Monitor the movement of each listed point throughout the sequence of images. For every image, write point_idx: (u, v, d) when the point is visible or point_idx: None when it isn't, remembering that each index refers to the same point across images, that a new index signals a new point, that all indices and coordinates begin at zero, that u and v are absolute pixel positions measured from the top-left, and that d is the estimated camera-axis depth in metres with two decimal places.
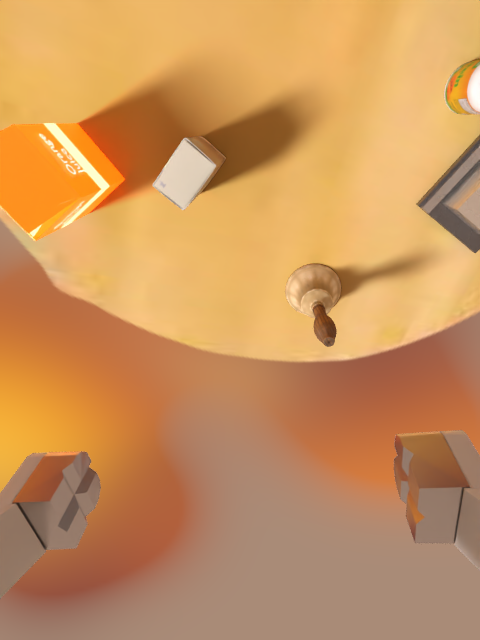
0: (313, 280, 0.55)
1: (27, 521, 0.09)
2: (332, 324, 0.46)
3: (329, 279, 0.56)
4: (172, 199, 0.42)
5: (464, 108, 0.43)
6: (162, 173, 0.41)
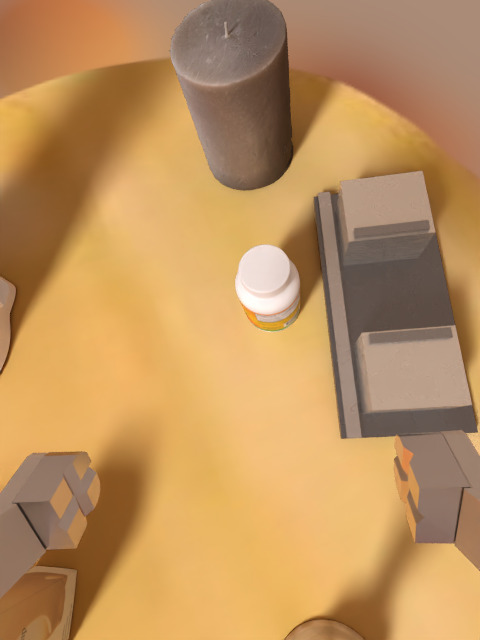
0: None
1: (27, 521, 0.09)
2: None
3: None
4: None
5: (270, 321, 0.34)
6: None
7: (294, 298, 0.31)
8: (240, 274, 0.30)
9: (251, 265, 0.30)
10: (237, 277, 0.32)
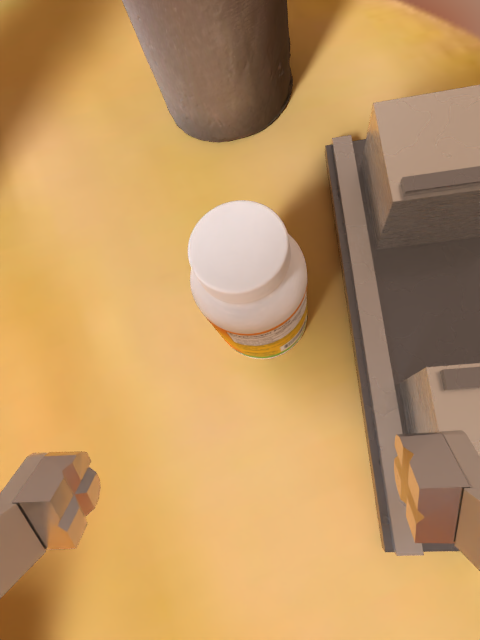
0: None
1: (26, 521, 0.09)
2: None
3: None
4: None
5: (256, 344, 0.19)
6: None
7: (297, 303, 0.17)
8: (191, 258, 0.15)
9: (212, 240, 0.15)
10: None
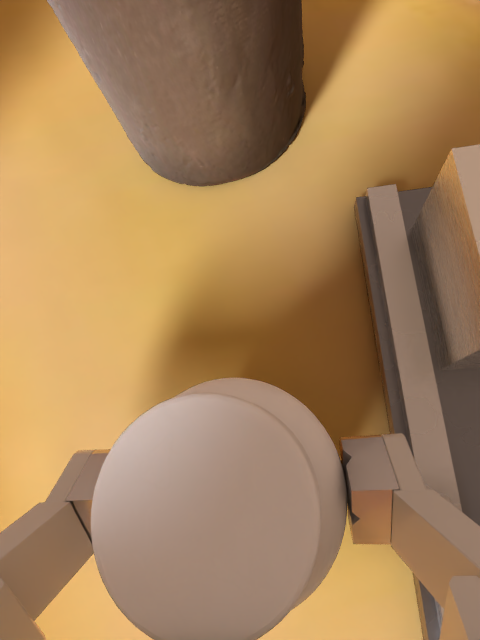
0: None
1: (78, 520, 0.09)
2: None
3: None
4: None
5: None
6: None
7: None
8: (95, 536, 0.07)
9: (145, 494, 0.07)
10: None
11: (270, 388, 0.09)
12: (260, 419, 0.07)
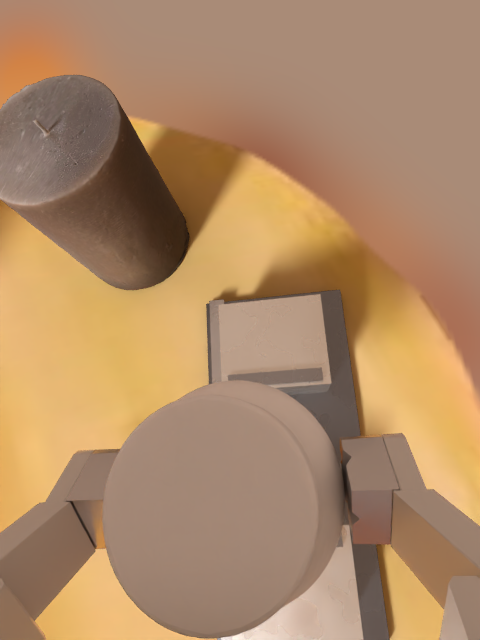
0: None
1: (79, 520, 0.09)
2: None
3: None
4: None
5: None
6: None
7: None
8: (107, 530, 0.07)
9: (153, 490, 0.07)
10: None
11: (271, 390, 0.10)
12: (261, 420, 0.07)
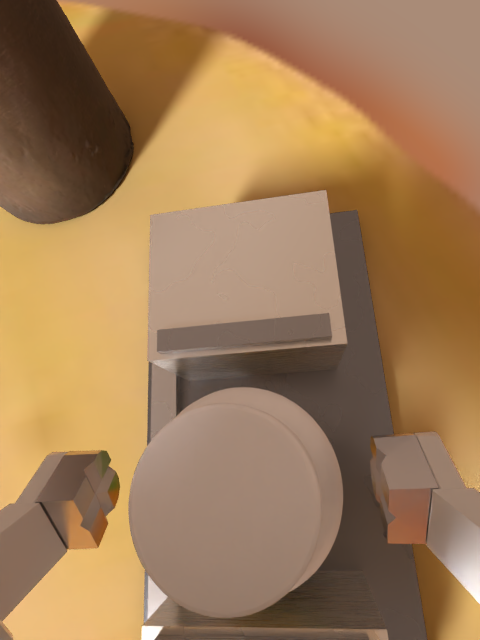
0: None
1: (49, 520, 0.09)
2: None
3: None
4: None
5: None
6: None
7: None
8: (133, 524, 0.08)
9: (175, 489, 0.08)
10: None
11: (276, 397, 0.11)
12: (271, 425, 0.08)
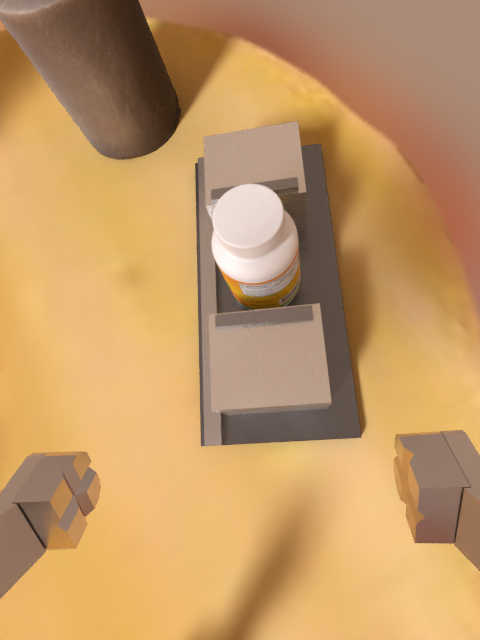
0: None
1: (27, 521, 0.09)
2: None
3: None
4: None
5: (260, 294, 0.25)
6: None
7: (290, 260, 0.23)
8: (214, 224, 0.21)
9: (230, 212, 0.21)
10: (214, 234, 0.24)
11: None
12: (265, 188, 0.21)
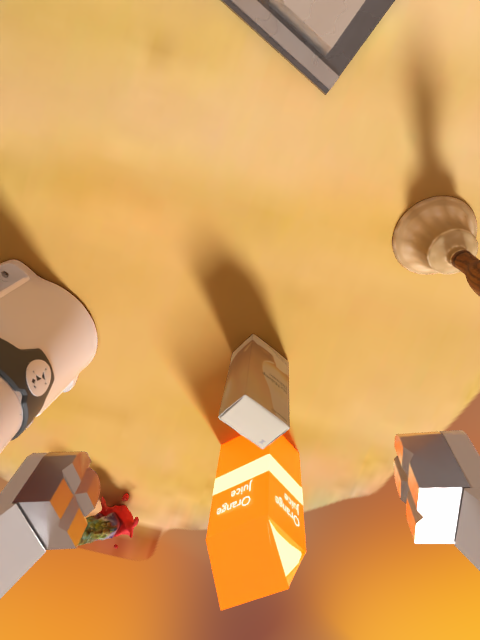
0: (415, 247, 0.39)
1: (26, 521, 0.09)
2: None
3: (420, 220, 0.38)
4: (277, 435, 0.39)
5: None
6: (251, 440, 0.40)
7: None
8: None
9: None
10: None
11: None
12: None
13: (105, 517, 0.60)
